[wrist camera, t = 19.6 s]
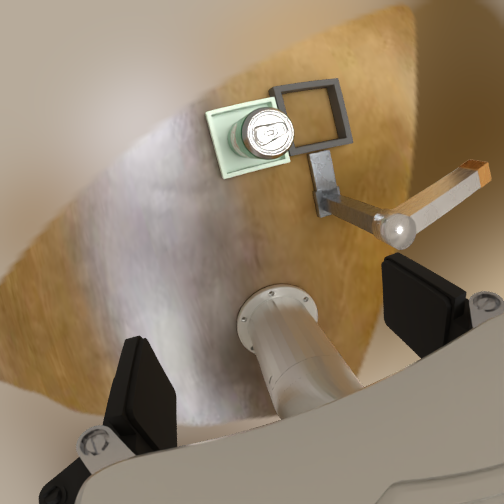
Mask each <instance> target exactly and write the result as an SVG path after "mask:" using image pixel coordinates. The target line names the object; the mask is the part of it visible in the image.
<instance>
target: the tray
mask: <svg viewBox="0 0 504 504" xmlns="http://www.w3.org/2000/svg"><path fill="white" fill-rule="evenodd" d="M261 107H273V108H276V109H277V105H276V101H275V98H274V97H270V98H265V99H260V100H255V101H250V102H246V103H241V104H237V105H232V106H228V107H224V108H220V109H216V110H212V111H208V112H206V113H205V116H206V120H207V124H208V128H209V131H210V135H211V139H212V142H213V146H214V150H215V153H216V157H217V161H218V165H219V168H220V172H221V176H222V178H223V179H227V178H230V177H234V176H237V175H241V174H245V173H249V172H252V171H256V170H260V169H264V168H268V167H272V166H276V165H280V164H284V163H288V162H290V158H289V153H288V152H286V153H285V154H284V155H283V156H281V157H279V158H277V159H273V160H262V159H251V158H243V157H240V156H238V155H236V154H235V153H234V152H233V151H232V150H231V149H230V147H229V144H228V140H227V139H228V132H229V130H230V128H231V126H232V125H233V124H234V123H236V122H237V121H238V120H240V119H241V118H243V117H244V116H246V115H247V114H249V113H250V112H252V111H253V110H255V109H257V108H261Z"/></svg>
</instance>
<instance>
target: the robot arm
mask: <svg viewBox="0 0 504 504" xmlns="http://www.w3.org/2000/svg"><path fill="white" fill-rule="evenodd" d="M382 282H383V304H384V320H385V323H386V325H387V326H388V327H389V328H390V329H391V330H392V331H393V332H394V333H395V334H397V336H399V337H400V338H401V339H402V340H403V341H404V342H405V343H406V344H407V345H408V346H409V347H410V348H411V349H412V350H413V351H414V352H415V353H416V354H417V355H418V356H419V357H420V358H421V359H420V360H418V361H416V362H414V363H413V364H411V365H409V366H407V367H405V368H403V369H401V370H399V371H397V372H395V373H393V374H391V375H389V376H387V377H385V378H383V379H381V380H379V381H377V382H375V383H373V384H370V385H368V386H366V387H364V386H363V385H362V384H361V383H360V381H359V380H358V379H357V377H356V376H355V375H354V373H353V372H352V371H351V369H350V368H349V366H348V365H347V364H346V362H345V361H344V360H343V358H342V357H341V355H340V354H339V353H338V351H337V350H336V348H335V347H334V346H333V344H332V343H331V342H330V340H329V339H328V337H327V336H326V335H325V333H324V332H323V331H322V329H321V328H320V326H319V325H318V324H317V320H318V311H317V307H316V304H315V302H314V301H313V299H312V298H311V297H310V295H309V294H308V293H307V292H305V291H304V290H303V289H301V288H299V287H297V286H293V285H288V284H278V285H272V286H269V287H266V288H264V289H261V290H259V291H258V292H256V293H255V294H253V295H252V296H251V297H250V298H249V299H248V300H247V301H246V302H245V303H244V305H243V306H242V308H241V310H240V312H239V314H238V318H237V331H238V335H239V338H240V341H241V342H242V344H243V345H244V346H245V347H246V348H247V349H248V350H249V351H251V352H252V353H254V354H256V357H257V360H258V362H259V365H260V368H261V371H262V374H263V377H264V380H265V383H266V386H267V388H268V391H269V394H270V397H271V400H272V402H273V405H274V408H275V410H276V412H277V414H278V416H279V417H280V418H281V420H279V421H276V422H273V423H270V424H266V425H263V426H260V427H256V428H253V429H250V430H246V431H243V432H239V433H235V434H232V435H228V436H224V437H220V438H216V439H211V440H207V441H203V442H199V443H194V444H189V445H184V446H179V447H177V421H176V393H175V390H174V388H173V386H172V384H171V383H170V381H169V379H168V377H167V376H166V374H165V372H164V370H163V368H162V367H161V365H160V363H159V361H158V359H157V357H156V355H155V353H154V351H153V350H152V348H151V346H150V344H149V342H148V340H147V339H146V338H144V339H142V337H141V336H136V337H132V338H129V339H126V340H125V342H124V345H123V349H122V353H121V356H120V360H119V364H118V367H117V371H116V375H115V377H114V379H113V383H112V387H111V391H110V395H109V399H108V403H107V408H106V412H105V417H104V421H103V425H98V426H94V427H91V428H89V429H87V430H86V431H85V432H83V433H82V435H81V436H80V437H79V439H78V441H77V444H76V450H77V453H78V455H79V458H78V459H76V460H75V461H74V462H73V463H72V464H70V465H69V466H68V467H67V468H65V469H64V470H63V471H62V472H61V473H59V474H58V475H57V476H56V477H54V478H53V479H52V480H51V481H49V482H48V483H47V484H46V485H45V486H44V487H43V488H42V490H41V492H40V495H39V504H504V301H503V299H502V298H501V297H500V296H499V295H497V294H495V293H492V292H486V291H484V292H478V293H475V294H474V295H472V296H471V297H470V299H469V300H468V299H466V291H464V290H463V289H461V288H459V287H458V286H456V285H454V284H453V283H451V282H449V281H447V280H446V279H444V278H443V277H441V276H439V275H437V274H436V273H434V272H432V271H431V270H429V269H427V268H425V267H423V266H422V265H420V264H418V263H416V262H415V261H413V260H411V259H409V258H408V257H406V256H404V255H402V254H400V253H395V254H392V255H389V256H387V257H385V259H384V262H382ZM270 291H271V292H270ZM304 297H305V298H304ZM243 317H244V318H243Z"/></svg>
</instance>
